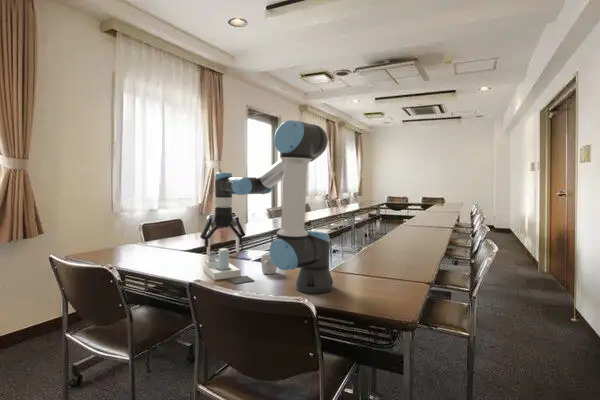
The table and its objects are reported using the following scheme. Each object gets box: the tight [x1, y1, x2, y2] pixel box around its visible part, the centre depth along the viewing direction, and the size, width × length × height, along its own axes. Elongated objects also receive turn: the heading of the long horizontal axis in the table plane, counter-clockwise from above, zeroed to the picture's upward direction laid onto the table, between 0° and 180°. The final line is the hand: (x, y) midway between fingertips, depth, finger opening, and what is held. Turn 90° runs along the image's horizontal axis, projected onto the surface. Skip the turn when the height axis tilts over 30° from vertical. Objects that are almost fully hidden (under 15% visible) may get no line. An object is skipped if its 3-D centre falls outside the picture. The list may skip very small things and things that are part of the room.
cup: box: [260, 254, 278, 275], centre depth 162 cm, size 11×8×8 cm
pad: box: [227, 275, 255, 285], centre depth 151 cm, size 9×9×1 cm
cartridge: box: [217, 248, 230, 271], centre depth 159 cm, size 5×5×12 cm
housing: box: [202, 258, 241, 281], centre depth 162 cm, size 18×12×6 cm, turn 30°
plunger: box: [208, 251, 217, 262], centre depth 164 cm, size 4×4×6 cm
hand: (223, 252), depth 159 cm, fingers open, 13 cm apart
